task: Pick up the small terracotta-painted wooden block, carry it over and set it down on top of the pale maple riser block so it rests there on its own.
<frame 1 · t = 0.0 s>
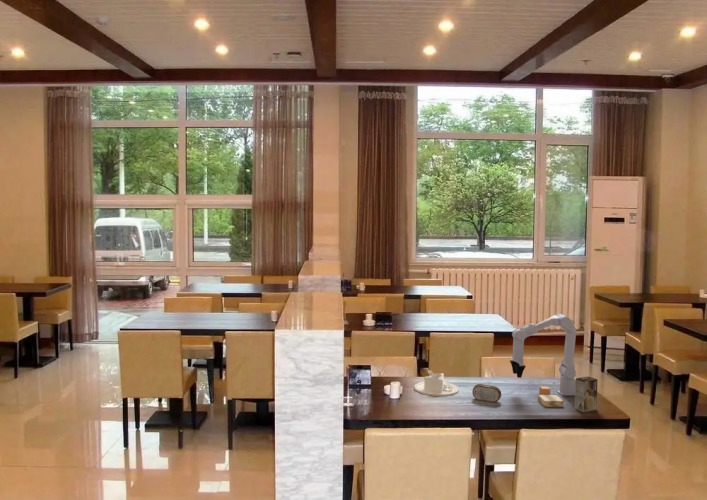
hand: (517, 375, 354), 10 cm above the table, tool pointing down, fingers open, 7 cm apart
coffee box: (585, 409, 331), on the table
riser: (550, 403, 339), on the table
dish: (436, 390, 360), on the table
tin: (486, 401, 341), on the table
block: (544, 396, 351), on the table
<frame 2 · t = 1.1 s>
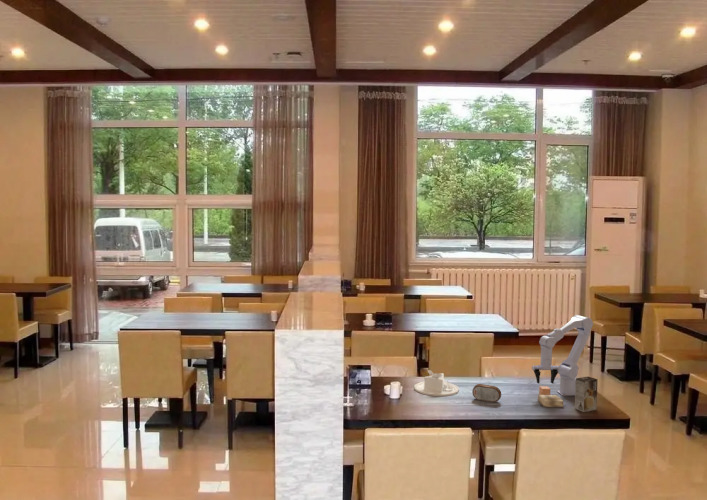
hand: (545, 383, 350), 7 cm above the table, tool pointing down, fingers open, 7 cm apart
nothing on the table moved.
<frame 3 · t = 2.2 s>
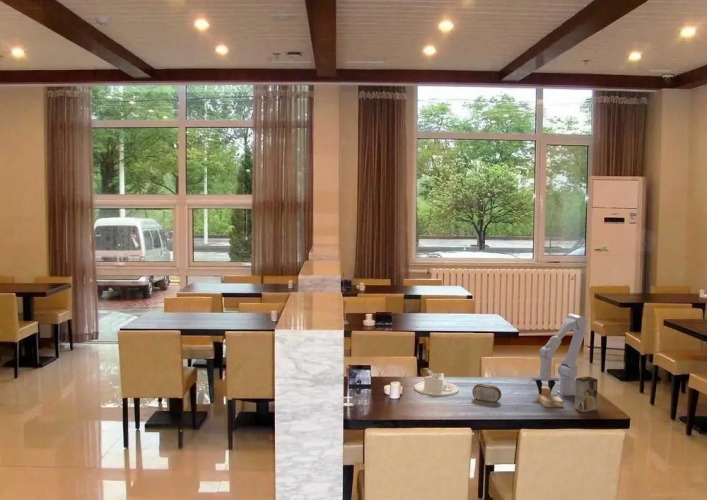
hand: (544, 393, 351), 1 cm above the table, tool pointing down, fingers closed on block, 4 cm apart
block: (544, 396, 351), on the table, touching gripper
everything else where it was.
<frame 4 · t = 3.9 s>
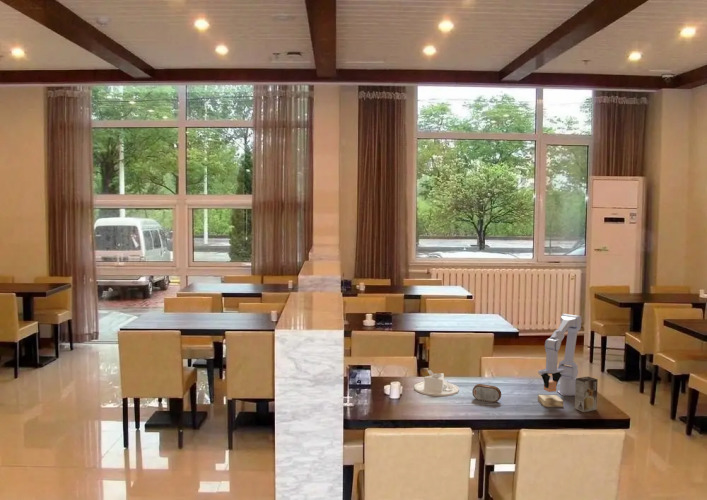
hand: (550, 387, 339), 8 cm above the table, tool pointing down, fingers closed on block, 4 cm apart
block: (550, 390, 339), point 7 cm above the table, touching gripper
everything else where it was.
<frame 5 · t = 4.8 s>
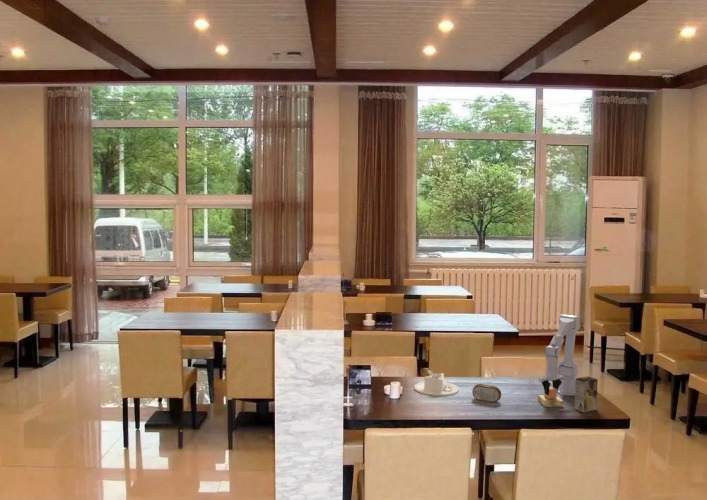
hand: (550, 394, 338), 5 cm above the table, tool pointing down, fingers closed on block, 4 cm apart
block: (550, 397, 339), point 3 cm above the table, touching gripper
everything else where it was.
when the fingers open (5 cm above the table, at t = 5.7 s): block stays where it is, resting on riser.
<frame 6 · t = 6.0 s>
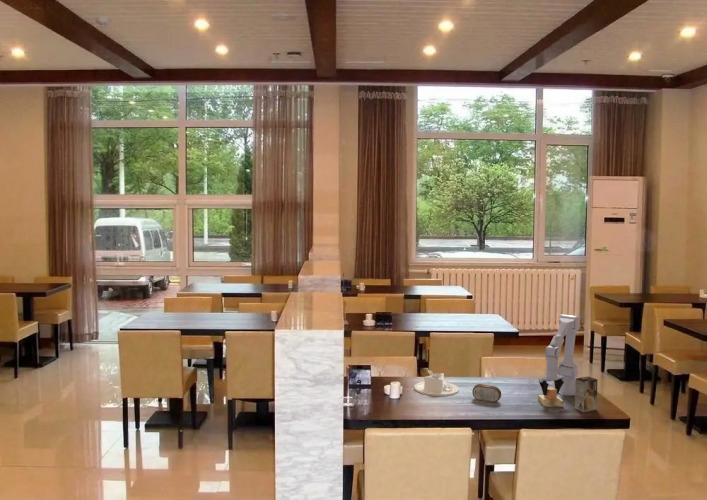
hand: (550, 394, 338), 5 cm above the table, tool pointing down, fingers open, 7 cm apart
block: (550, 397, 339), point 3 cm above the table, touching riser
everything else where it was.
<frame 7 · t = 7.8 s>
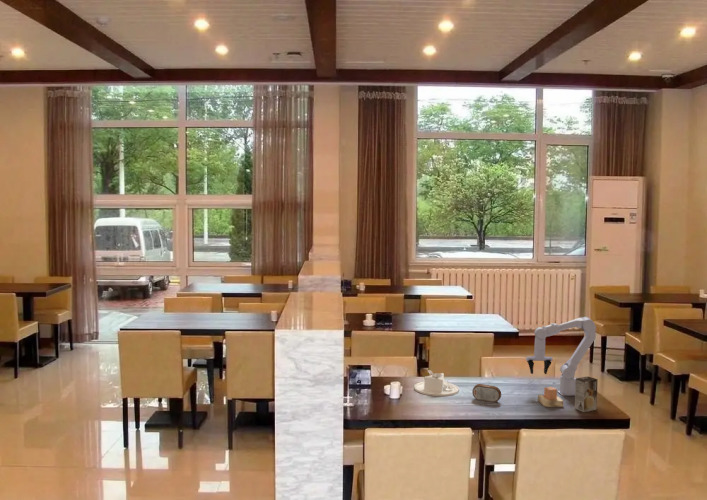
hand: (538, 373, 358), 10 cm above the table, tool pointing down, fingers open, 7 cm apart
nothing on the table moved.
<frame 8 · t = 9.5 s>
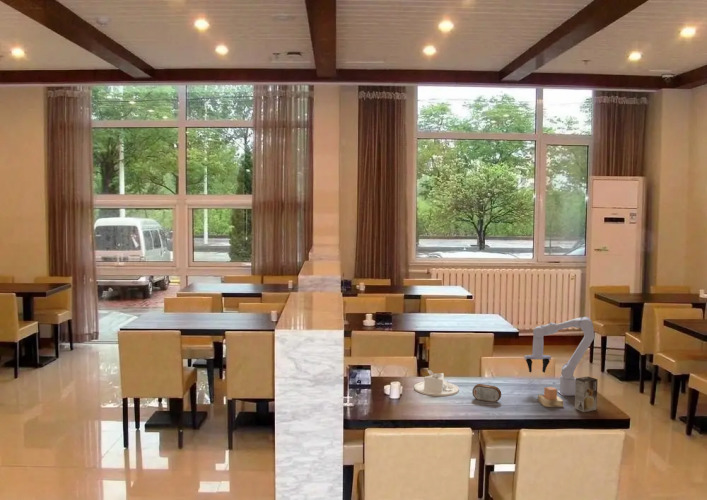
hand: (536, 372, 361), 10 cm above the table, tool pointing down, fingers open, 7 cm apart
nothing on the table moved.
at the end: block touching riser; block tilted 0° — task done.
